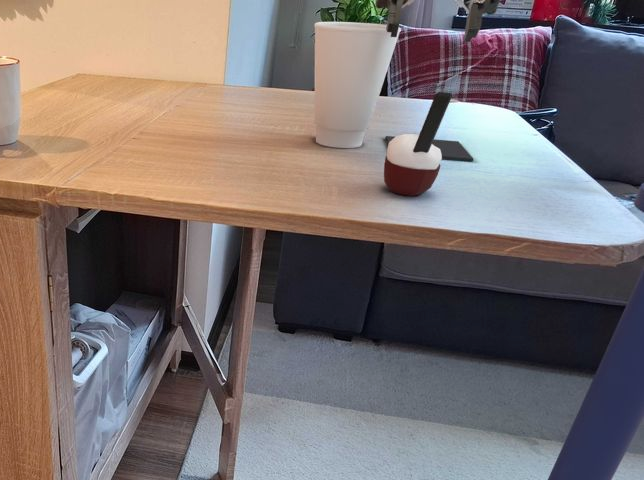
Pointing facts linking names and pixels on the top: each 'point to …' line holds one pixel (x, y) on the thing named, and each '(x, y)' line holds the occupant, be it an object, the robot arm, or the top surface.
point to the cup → (348, 79)
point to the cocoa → (416, 154)
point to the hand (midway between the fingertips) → (431, 34)
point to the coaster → (448, 149)
